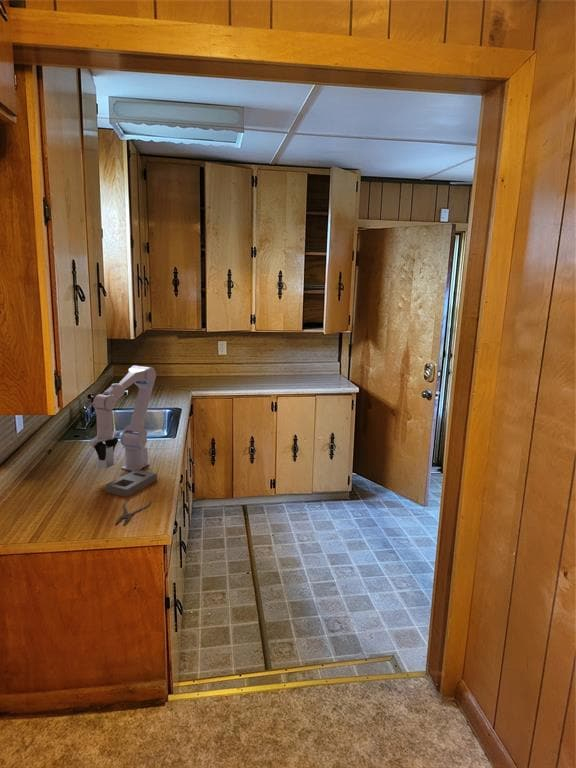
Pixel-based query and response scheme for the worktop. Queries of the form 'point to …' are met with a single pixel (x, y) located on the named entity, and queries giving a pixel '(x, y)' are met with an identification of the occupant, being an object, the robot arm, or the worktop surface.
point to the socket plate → (130, 482)
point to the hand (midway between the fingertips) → (105, 458)
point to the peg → (107, 458)
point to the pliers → (128, 516)
